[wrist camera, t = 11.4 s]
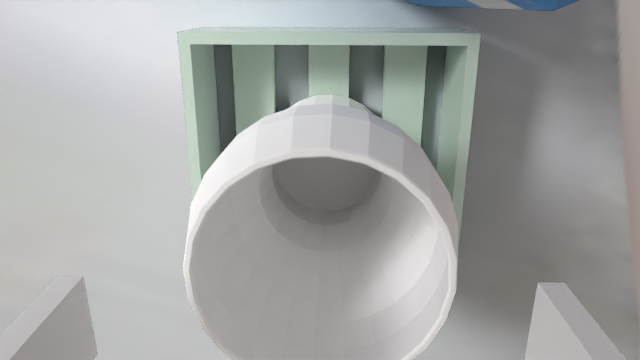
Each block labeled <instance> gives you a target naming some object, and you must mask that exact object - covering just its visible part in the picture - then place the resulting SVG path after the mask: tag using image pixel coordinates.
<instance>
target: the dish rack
mask: <svg viewBox="0 0 640 360" xmlns="http://www.w3.org/2000/svg"><path fill="white" fill-rule="evenodd" d="M177 35H178V46H179V57H180V69H181V80H182V91H183V103H184V114H185V125H186V137H187V148H188V159H189V171H190V182H191V194H192V201H193V199H194V197H195V194H196V192H197V190H198V188H199V185H200V183H201V181H202V179H203V176H204V174H205V173H206V172H207V170H208V169H209V168H210V167H211V165H212V164H213V163H214V162H215V161H216V159H217V158H218V157H219V156H220V155H221V151H220V136H219V120H218V105H217V90H216V75H215V59H214V44H226V45H232V63H233V81H234V100H235V118H236V136H237V135H238V134H239V133H241V132H242V131H244V130H245V129H247V128H248V127H250V126H251V125H253V124H254V123H256V122H257V121H259V120H260V119H262V118H263V117H265V116H267V115H270V114H273V113H276V82H275V45H308V69H309V97H312V96H315V95H330V94H333V95H338V96H343V97H348V98H349V54H350V45H384V67H383V90H382V113H381V118H382V119H384V120H386V121H388V122H390V123H392V124H394V125H396V126H398V127H399V128H400V129H401V130H402V131H403V132H405V133H406V134H407V135H408V136H409V137H410V138H411V139H412V140H413V141H414V142H416V143H417V144H418V145H419V146H420V147H421V133H422V119H423V105H424V91H425V77H426V63H427V49H428V46H447V49H446V61H445V73H444V85H443V97H442V109H441V121H440V133H439V145H438V157H437V169H436V172H437V173H438V175H439V176H440V178H441V180H442V181H443V183H444V185H445V186H446V188H447V190H448V191H449V193H450V197H451V201H452V204H453V208H454V212H455V215H456V219H457V223H458V250H459V240H460V231H461V221H462V212H463V202H464V192H465V183H466V173H467V164H468V154H469V145H470V135H471V125H472V116H473V106H474V97H475V87H476V77H477V68H478V58H479V49H480V39H481V33H477V32H473V31H468V30H463V29H459V28H237V27H202V28H196V29H191V30H185V31H180V32H177Z"/></svg>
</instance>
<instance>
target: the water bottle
mask: <svg viewBox="0 0 640 360" xmlns="http://www.w3.org/2000/svg"><path fill="white" fill-rule="evenodd" d="M407 1H410V2H412V3H414V4H416V5H418V6H440V7H465V8H490V9H515V10H539V11H553V10H556V9H558V8H561V7H563V6H566V5H568V4H571V3H573V2H576V1H578V0H407Z"/></svg>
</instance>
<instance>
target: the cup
mask: <svg viewBox="0 0 640 360" xmlns="http://www.w3.org/2000/svg"><path fill="white" fill-rule="evenodd" d="M457 268H458V223H457V219H456V215H455V212H454V208H453V204H452V201H451V197H450V193H449V191H448V190H447V188H446V186H445V185H444V183H443V181H442V180H441V178H440V176H439V175H438V173H437V172H436V170H435V168H434V167H433V165H432V164H431V162H430V160H429V159H428V157H427V155H426V154H425V152H424V151H423V149H422V148H421V147H420V146H419V145H418V144H417V143H416V142H414V141H413V140H412V139H411V138H410V137H409V136H408V135H407V134H406V133H405V132H403V131H402V130H401V129H400V128H399V127H398V126H396V125H394V124H392V123H390V122H388V121H386V120H384V119H382V118H380V117H378V116H376V115H374V114H373V113H372V112H371V111H370V110H369V109H368V108H367V107H366V106H364V105H363V104H361V103H359V102H357V101H355V100H353V99H351V98H348V97H343V96H338V95H333V94H330V95H315V96H312V97H309V98H306V99H303V100H300V101H298V102H297V103H295V104H294V105H292V106H291V107H289V108H288V109H286V110H283V111H280V112H277V113H273V114H270V115H267V116H265V117H263V118H262V119H260V120H259V121H257V122H256V123H254V124H253V125H251V126H250V127H248V128H247V129H245V130H244V131H242V132H241V133H239V134H238V135H237V136H236V137H235V138H234V139H233V140H232V142H231V143H230V144H229V145H228V146H227V148H226V149H225V150H224V151H223V152H222V153H221V155H220V156H219V157H218V158H217V159H216V161H215V162H214V163H213V164H212V165H211V167H210V168H209V169H208V170H207V172H206V173H205V174H204V176H203V179H202V181H201V183H200V185H199V188H198V190H197V192H196V194H195V197H194V199H193V201H192V203H191V208H190V216H189V224H188V232H187V240H186V248H185V256H184V264H183V272H184V278H185V283H186V289H187V295H188V300H189V302H190V304H191V306H192V308H193V310H194V312H195V314H196V317H197V319H198V321H199V323H200V325H201V327H202V329H203V330H204V331H205V332H206V333H207V335H208V336H209V337H210V338H211V339H212V340H213V342H214V343H215V344H216V345H217V346H218V347H219V349H220V350H221V351H222V352H223V353H224V354H225V355H227V356H228V357H230V358H231V359H232V360H413V359H414V358H415V357H416V356H418V355H419V354H420V353H421V352H422V351H423V350H425V349H426V348H427V347H428V346H429V345H430V343H431V342H432V340H433V339H434V337H435V336H436V334H437V333H438V332H439V330H440V329H441V327H442V326H443V324H444V323H445V322H446V320H447V317H448V314H449V311H450V309H451V306H452V303H453V300H454V297H455V294H456V291H457Z"/></svg>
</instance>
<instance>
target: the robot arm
mask: <svg viewBox="0 0 640 360" xmlns="http://www.w3.org/2000/svg"><path fill="white" fill-rule="evenodd" d="M97 354H98V353H97V348H96V342H95V337H94V331H93V326H92V321H91V315H90V310H89V304H88V299H87V294H86V288H85V283H84V277H83V276H56V277H55V278H54V279H53V280H52V282H51V283H50V284H49V285H48V286H47V287H46V288H45V289H44V290H43V291H42V292H41V293H40V294H39V295H38V296H37V297H36V298H35V299H34V300H33V301H32V302H31V303H30V304H29V305H28V306H27V307H26V308H25V309H24V310H23V311H22V312H21V313H20V314H19V315H18V316H17V317H16V318H15V319H14V320H13V321H12V322H11V324H10V325H9V326H8V327H7V328H6V329H5V330H4V331H3V332H2V333H1V334H0V360H94V358H95V357H96V355H97ZM524 360H627V359H626V358H625V357H624V356H623V354H622V353H621V352H620V351H619V349H618V348H617V347H616V346H615V344H614V343H613V342H612V341H611V339H610V338H609V337H608V336H607V335H606V333H605V332H604V331H603V330H602V328H601V327H600V326H599V325H598V323H597V322H596V321H595V320H594V318H593V317H592V316H591V315H590V313H589V312H588V311H587V310H586V308H585V307H584V306H583V305H582V303H581V302H580V301H579V300H578V298H577V297H576V296H575V295H574V293H573V292H572V291H571V290H570V288H569V287H568V286H567V285H566V283H551V282H538V284H537V290H536V295H535V301H534V307H533V313H532V318H531V324H530V330H529V335H528V341H527V347H526V353H525V358H524Z"/></svg>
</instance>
